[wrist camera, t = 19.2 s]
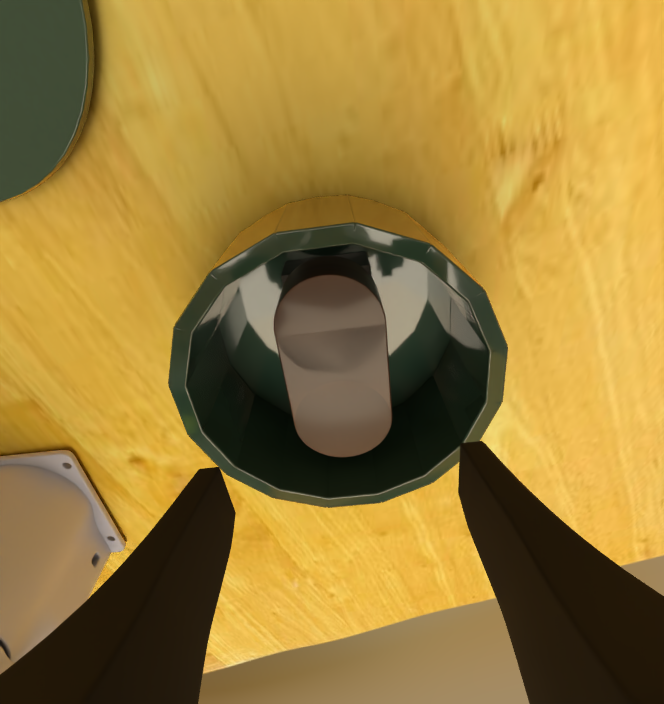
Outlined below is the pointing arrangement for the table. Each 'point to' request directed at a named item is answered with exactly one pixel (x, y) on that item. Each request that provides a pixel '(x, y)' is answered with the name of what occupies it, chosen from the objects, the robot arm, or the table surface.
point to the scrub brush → (334, 353)
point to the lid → (42, 88)
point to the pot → (403, 350)
